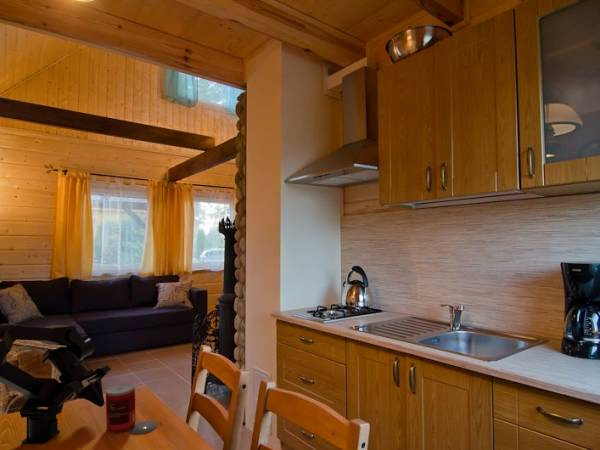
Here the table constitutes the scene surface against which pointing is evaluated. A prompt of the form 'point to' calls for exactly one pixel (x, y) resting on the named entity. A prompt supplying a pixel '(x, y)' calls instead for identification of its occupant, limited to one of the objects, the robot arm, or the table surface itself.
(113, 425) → the canned food
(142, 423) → the coaster
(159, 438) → the table surface
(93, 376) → the robot arm
